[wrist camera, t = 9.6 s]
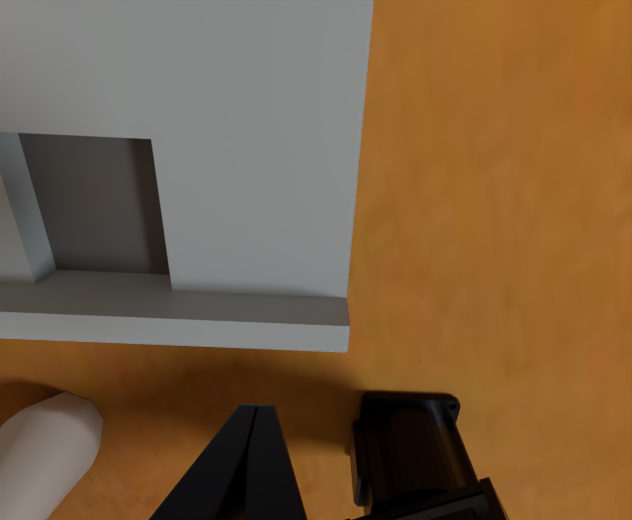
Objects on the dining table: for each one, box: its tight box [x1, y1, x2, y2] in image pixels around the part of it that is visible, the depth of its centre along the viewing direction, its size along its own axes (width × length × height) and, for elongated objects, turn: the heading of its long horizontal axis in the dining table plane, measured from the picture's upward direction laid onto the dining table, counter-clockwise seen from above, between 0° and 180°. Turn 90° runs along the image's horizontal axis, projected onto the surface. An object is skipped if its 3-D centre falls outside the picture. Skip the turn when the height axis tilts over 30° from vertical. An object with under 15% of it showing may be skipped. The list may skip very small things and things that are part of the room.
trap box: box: [0, 0, 374, 352], centre depth 15 cm, size 26×20×5 cm
